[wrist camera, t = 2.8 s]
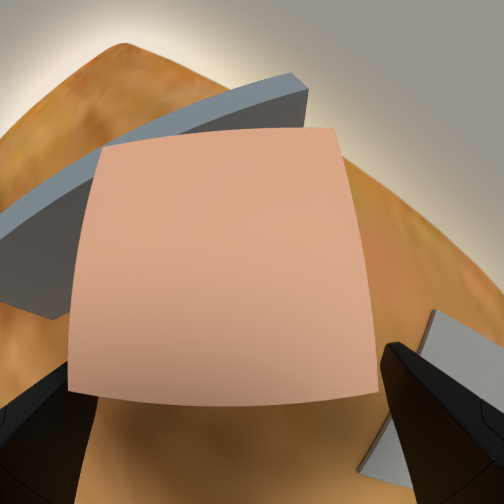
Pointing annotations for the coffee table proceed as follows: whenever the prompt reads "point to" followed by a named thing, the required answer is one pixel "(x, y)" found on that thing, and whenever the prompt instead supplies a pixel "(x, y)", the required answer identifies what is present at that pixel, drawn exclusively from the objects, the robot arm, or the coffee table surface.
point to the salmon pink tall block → (222, 273)
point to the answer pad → (456, 366)
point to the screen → (80, 181)
